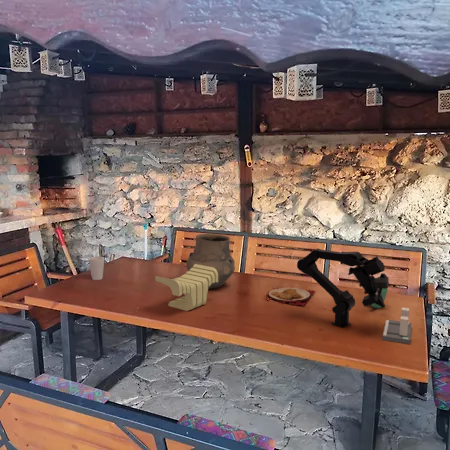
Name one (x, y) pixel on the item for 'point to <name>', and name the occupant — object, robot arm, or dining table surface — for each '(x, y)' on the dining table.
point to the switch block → (395, 332)
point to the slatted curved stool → (191, 286)
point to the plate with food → (291, 295)
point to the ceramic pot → (213, 256)
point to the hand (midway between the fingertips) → (383, 306)
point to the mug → (383, 293)
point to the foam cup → (96, 267)
